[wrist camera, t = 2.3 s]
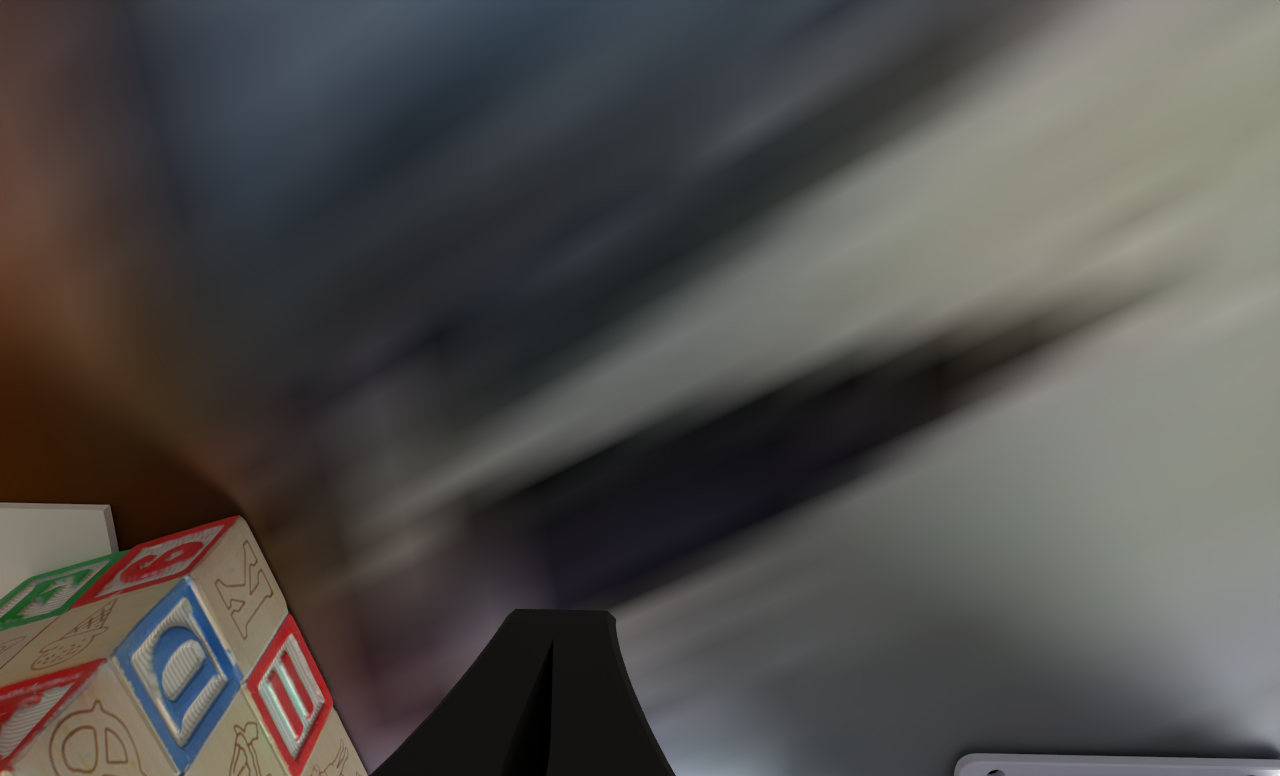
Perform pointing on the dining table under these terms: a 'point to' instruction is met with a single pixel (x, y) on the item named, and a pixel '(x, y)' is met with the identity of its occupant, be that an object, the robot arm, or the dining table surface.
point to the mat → (51, 538)
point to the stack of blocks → (164, 668)
